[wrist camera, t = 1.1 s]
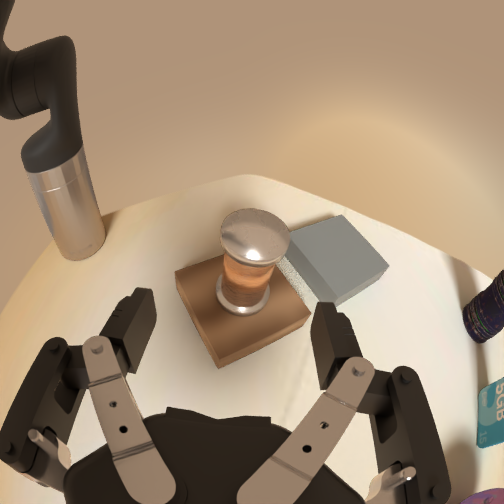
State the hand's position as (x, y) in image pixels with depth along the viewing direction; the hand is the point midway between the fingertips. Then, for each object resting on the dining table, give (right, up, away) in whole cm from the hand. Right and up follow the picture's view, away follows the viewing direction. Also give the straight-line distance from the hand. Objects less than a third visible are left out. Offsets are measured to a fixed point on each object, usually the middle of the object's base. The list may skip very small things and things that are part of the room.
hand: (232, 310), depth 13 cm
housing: (0, -2, +21) cm, 21 cm away
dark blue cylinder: (+48, -12, +28) cm, 57 cm away
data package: (+43, -28, +14) cm, 53 cm away
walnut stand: (-1, -5, +24) cm, 25 cm away
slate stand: (+14, +1, +32) cm, 35 cm away
